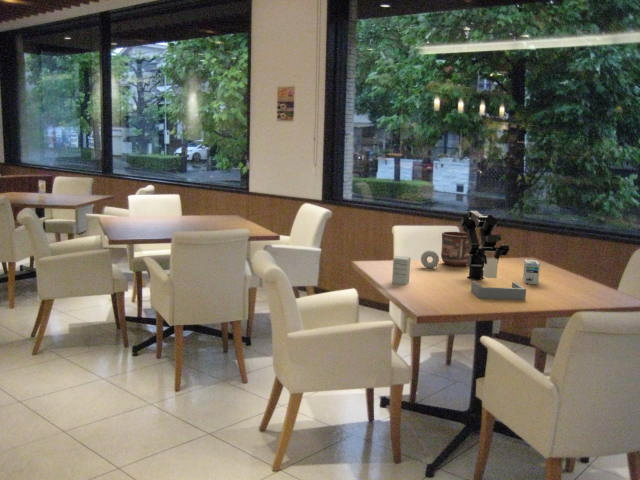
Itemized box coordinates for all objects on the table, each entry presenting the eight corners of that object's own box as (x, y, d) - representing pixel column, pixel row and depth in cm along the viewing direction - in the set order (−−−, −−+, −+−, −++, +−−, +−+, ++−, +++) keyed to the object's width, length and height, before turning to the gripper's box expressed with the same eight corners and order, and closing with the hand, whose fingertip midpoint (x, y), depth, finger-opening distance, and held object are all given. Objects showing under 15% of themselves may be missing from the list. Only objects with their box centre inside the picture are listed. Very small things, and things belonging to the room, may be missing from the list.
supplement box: (394, 280, 316) (396, 255, 314) (409, 281, 313) (411, 256, 311) (391, 283, 309) (393, 257, 307) (406, 284, 306) (408, 259, 304)
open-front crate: (471, 291, 299) (471, 280, 298) (514, 292, 300) (515, 282, 299) (479, 298, 285) (480, 287, 284) (525, 299, 286) (526, 289, 285)
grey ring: (438, 268, 349) (440, 250, 347) (437, 269, 345) (439, 251, 344) (420, 266, 352) (422, 249, 350) (419, 267, 349) (420, 250, 347)
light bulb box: (538, 284, 318) (540, 263, 316) (524, 283, 319) (526, 262, 318) (535, 280, 328) (537, 260, 327) (522, 279, 330) (524, 259, 328)
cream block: (483, 275, 307) (484, 257, 305) (493, 275, 307) (494, 257, 305) (486, 277, 302) (487, 259, 300) (496, 278, 302) (498, 259, 300)
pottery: (465, 269, 350) (467, 237, 347) (435, 264, 359) (437, 233, 356) (475, 264, 365) (478, 234, 362) (446, 260, 374) (448, 230, 371)
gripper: (472, 227, 304) (477, 254, 295) (510, 228, 305) (516, 255, 296) (466, 240, 313) (470, 267, 304) (503, 241, 314) (508, 268, 305)
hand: (491, 264), depth 302 cm, fingers closed on cream block, 5 cm apart
